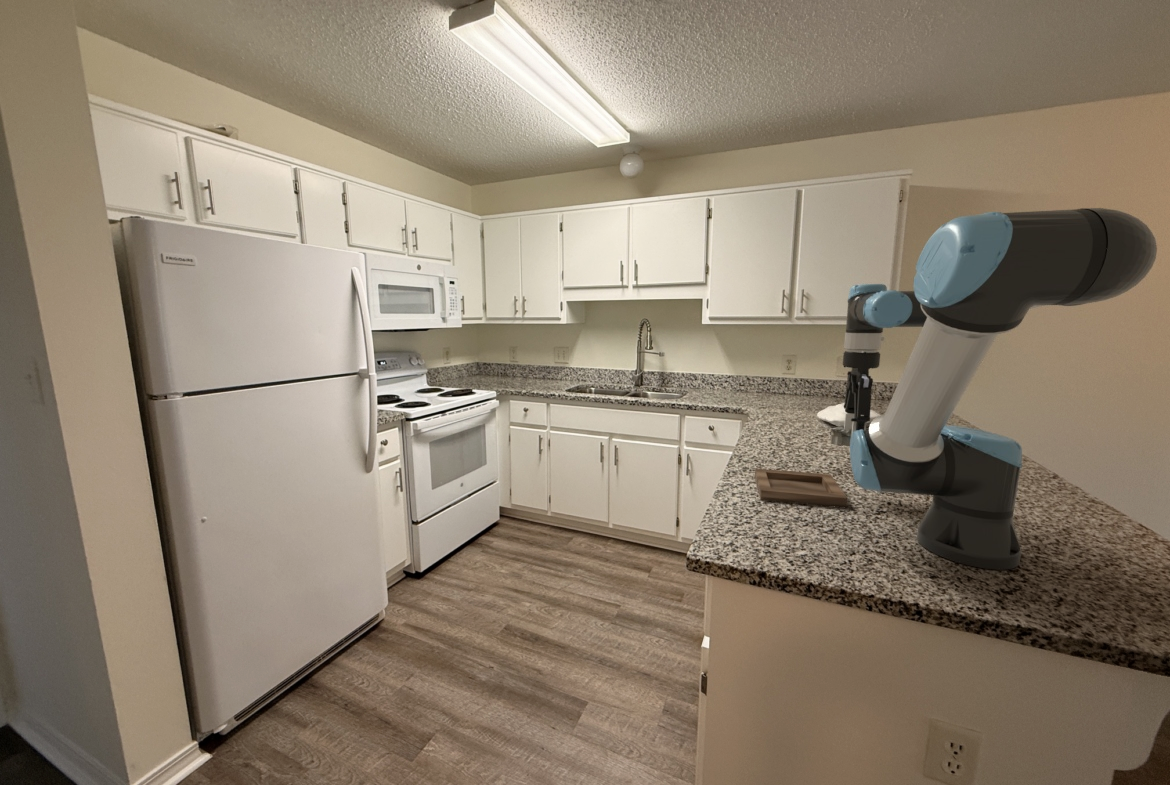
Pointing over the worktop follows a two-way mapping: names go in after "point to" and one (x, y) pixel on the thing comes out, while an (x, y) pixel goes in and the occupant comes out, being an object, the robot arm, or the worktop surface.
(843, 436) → the egg carton
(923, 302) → the robot arm
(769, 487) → the pocket board
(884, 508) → the worktop surface
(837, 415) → the crumpled cloth
